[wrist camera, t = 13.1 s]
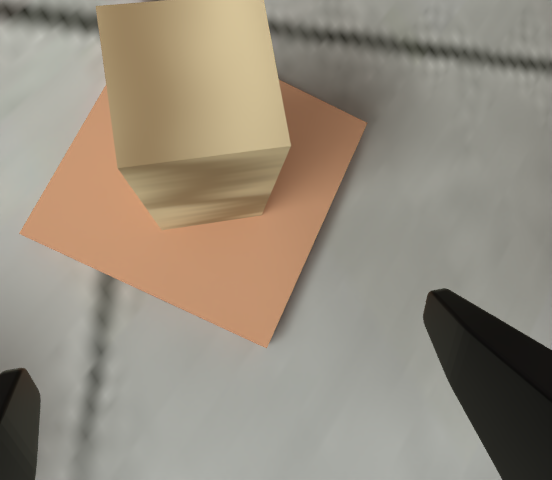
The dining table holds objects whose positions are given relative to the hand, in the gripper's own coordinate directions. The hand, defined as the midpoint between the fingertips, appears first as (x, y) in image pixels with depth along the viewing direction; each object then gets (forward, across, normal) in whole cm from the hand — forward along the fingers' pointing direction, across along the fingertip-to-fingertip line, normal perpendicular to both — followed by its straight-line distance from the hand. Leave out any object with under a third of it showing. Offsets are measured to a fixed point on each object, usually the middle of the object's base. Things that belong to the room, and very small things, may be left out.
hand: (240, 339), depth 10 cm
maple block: (+14, 0, +3) cm, 15 cm away
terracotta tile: (+15, 0, +4) cm, 16 cm away
